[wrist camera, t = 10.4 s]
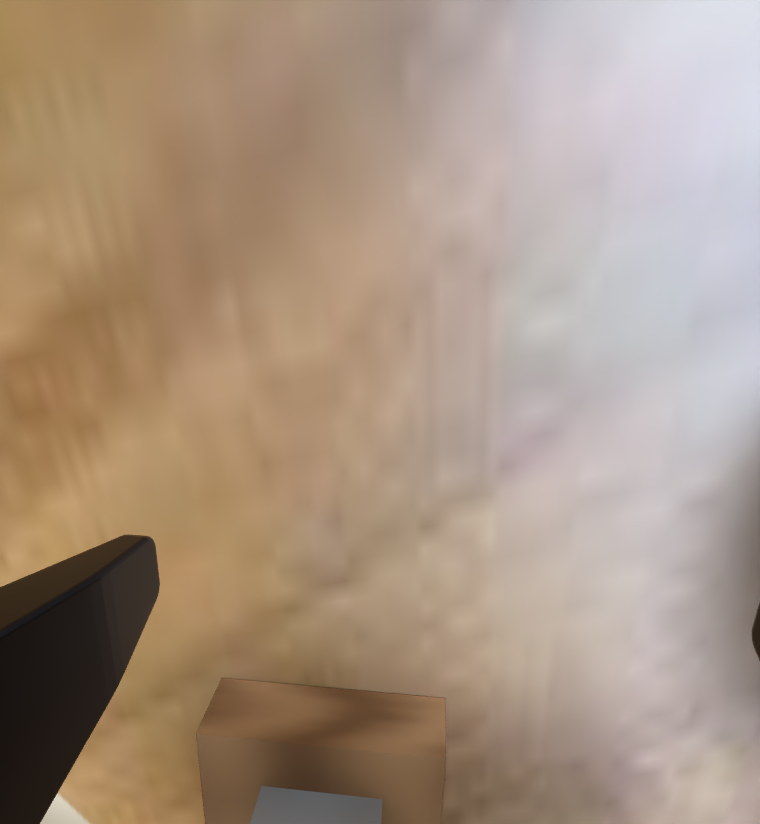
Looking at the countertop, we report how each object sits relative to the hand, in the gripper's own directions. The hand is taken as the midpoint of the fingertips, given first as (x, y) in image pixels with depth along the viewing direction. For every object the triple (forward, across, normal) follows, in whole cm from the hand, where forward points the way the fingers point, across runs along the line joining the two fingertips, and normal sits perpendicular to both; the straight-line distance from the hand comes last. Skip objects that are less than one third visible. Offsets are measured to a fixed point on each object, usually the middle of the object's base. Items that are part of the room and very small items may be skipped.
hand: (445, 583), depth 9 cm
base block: (+13, +4, +20) cm, 24 cm away
